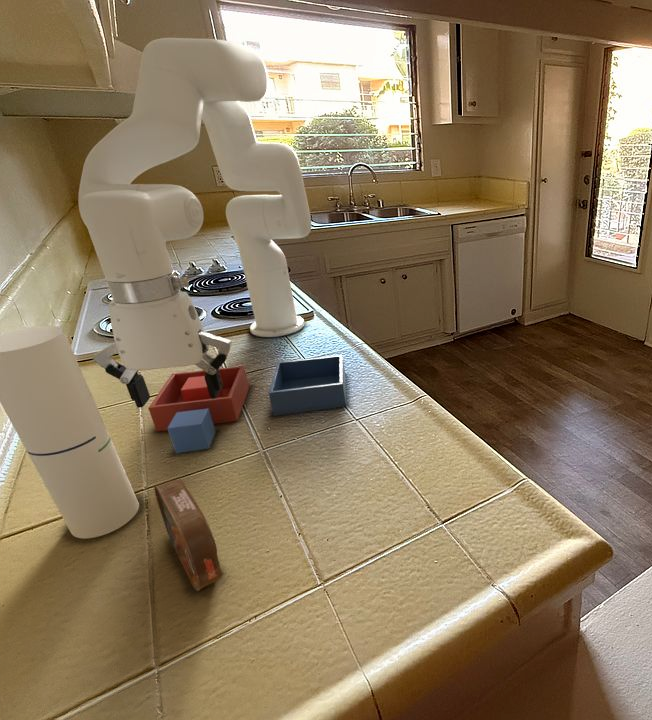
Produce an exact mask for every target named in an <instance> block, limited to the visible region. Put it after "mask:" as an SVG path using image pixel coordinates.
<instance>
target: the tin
mask: <svg viewBox="0 0 652 720" xmlns="http://www.w3.org/2000/svg"><path fill="white" fill-rule="evenodd" d="M153 488H154V489H153V490H154V494H155V498H156V502H157V505H158V508H159V511H160V515H161V518H162V521H163V523H164V526H165V530H166V533H167V535H168V537H169V539H170V542H171V544H172V546H173V548H174V550H175V552H176V554H177V557H178V558H179V561H180V562H181V565H182V567H183V569H184V571H185V573H186V575H187V577H188V579H189V581H190V583H191V585H192V587H193V589H194V590H195V591H196V592H199V591H201V590H202V589H203V588H205V587H207V586H209V585H211V584H213V583H215V582H217V581H219V580H220V579H221V578H222V577H223V575H224V572H223V569H222V567H221V564H220V560H219V556H218V548H217V543H216V540H215V537H214V535H213V532H212V530H211V527H210V525H209V523H208V521H207V519H206V517H205V515H204V513H203V512H202V510H201V508H200V507H199V505H198V503H197V502H196V499H195V498H194V496H193V495H192V492H191V491H190V490H189V488H188V487H187V485H186V484H185V482H184V481H183V480H182V479H181V478H180V479H179V478H177V479H173V480H170V481H168V482H165V483H162V484H160V485H155V486H153Z"/></svg>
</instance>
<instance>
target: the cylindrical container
mask: <svg viewBox="0 0 652 720" xmlns="http://www.w3.org/2000/svg"><path fill="white" fill-rule="evenodd" d="M0 405H1V406H2V408H3V410H4V412H5V414H6V416H7V417H8V420H9V421H10V423H11V425H12V427H13V428H14V430H15V433H16V434H17V436H18V438H19V439H20V442H21V443H22V445H23V447H24V449H25V450H26V452H27V455H28V457H29V459H30V460H31V462H32V464H33V465H34V468H35V469H36V472H37V473H38V475H39V477H40V479H41V480H42V482H43V484H44V486H45V488H46V490H47V492H48V493H49V495H50V497H51V499H52V501H53V503H54V504H55V506H56V508H57V510H58V511H59V514H60V516H61V518H62V519H63V521H64V523H65V525H66V527H67V528H68V530H69V532H70V534H71V535H72V536H73V537H75V538H76V539H77V538H78V539H94V538H98V537H101V536H104V535H107V534H111V533H112V532H115V531H116V530H118V529H120V528H122V527H124V525H126V524H127V523H128V522H130V521H131V520H132V519H133V518H134V517H135V516H136V514H137V513H138V511H139V508H140V502H139V501H138V498H137V496H136V494H135V491H134V489H133V487H132V485H131V482H130V480H129V477H128V475H127V472H126V471H125V468H124V466H123V463H122V461H121V459H120V456H119V454H118V452H117V449H116V447H115V445H114V442H113V439H112V437H111V435H110V433H109V430H108V428H107V426H106V424H105V422H104V419H103V417H102V415H101V413H100V411H99V408H98V406H97V404H96V401H95V399H94V397H93V394H92V392H91V390H90V387H89V385H88V383H87V381H86V377H85V376H84V374H83V371H82V368H81V367H80V364H79V362H78V359H77V357H76V355H75V353H74V350H73V349H72V346H71V344H70V341H69V339H68V336H67V334H66V332H65V329H64V328H63V327H62V326H59V325H52V324H51V325H49V324H45V325H34V326H27V327H20V328H15V329H11V330H6V331H3V332H0Z"/></svg>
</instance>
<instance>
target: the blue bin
mask: <svg viewBox="0 0 652 720" xmlns="http://www.w3.org/2000/svg"><path fill="white" fill-rule="evenodd" d="M345 368H346V367H345V362H344V356H343V354H340V355H330V356H321V357H313V358H311V357H310V358H304V359H303V358H301V359H295V360H294V359H293V360H284V361H277V362H276V365H275V368H274V372H273V376H272V379H271V382H270V386H269V390H268V398H269V401H270V405H271V410H272V415H273V416H274V417H277V416H284V415H291V414H298V413H299V414H300V413H305V412H313V411H320V410H327V409H334V408H342V407H347V384H346V382H347V381H346V380H347V379H346V376H347V375H346V369H345Z"/></svg>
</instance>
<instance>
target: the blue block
mask: <svg viewBox="0 0 652 720" xmlns="http://www.w3.org/2000/svg"><path fill="white" fill-rule="evenodd" d="M167 429H168V430H167V432H168V435H169V437H170V440H171V443H172V445H173V448H174V451H175V454H180V453H181V454H182V453H188V452H193V451H195V452H196V451H200V450H201V451H202V450H209V449H210V447H211V445H212V442H213V440H214V437H215V435H216V432H217V431H216V428H215V424H213V421H212V418H211V415H210V411H209V408H208V409H200V410H192V411H184V412H177V413H176V414H175V416H174V418H173V420H172V421H171V423H170V425H169V426H168V428H167Z"/></svg>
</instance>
